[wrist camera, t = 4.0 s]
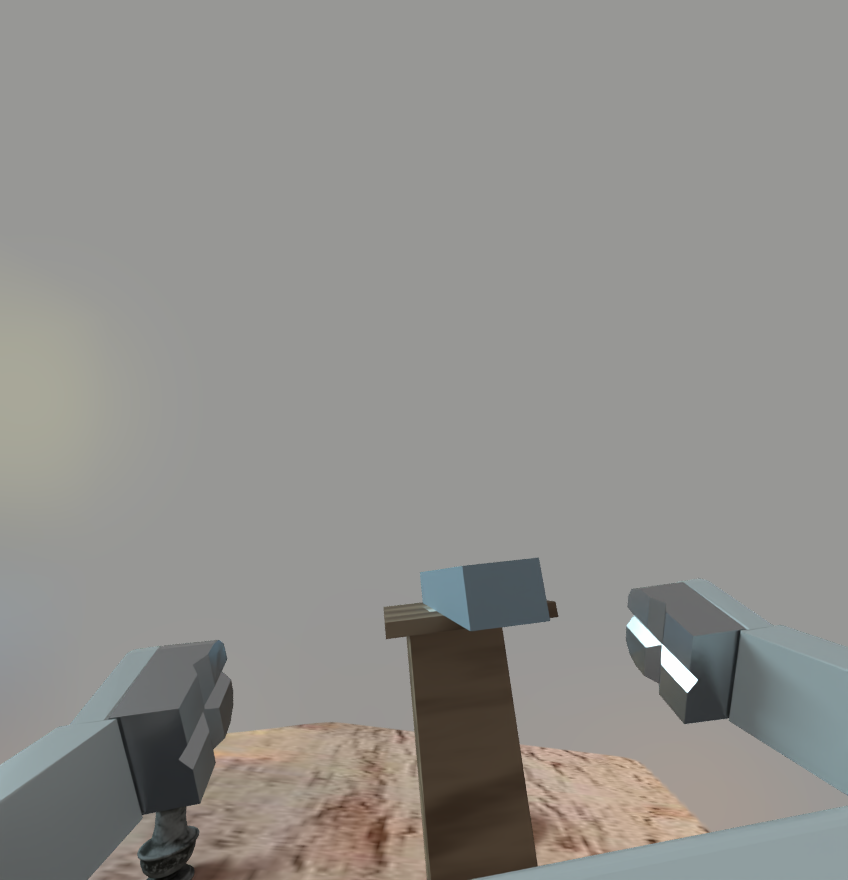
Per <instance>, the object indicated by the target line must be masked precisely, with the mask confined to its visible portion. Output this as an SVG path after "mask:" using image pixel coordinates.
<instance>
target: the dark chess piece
mask: <svg viewBox="0 0 848 880" xmlns="http://www.w3.org/2000/svg"><path fill="white" fill-rule="evenodd" d="M198 836H199V830H198V828H196V827H193V826H188V825H187V821H186V806H185V807H180V808H175V809H170V810H165V811H160V812H156V820H155V829H154V832H153V836H152V838H151V839H150V840H148V841H147V842H146V843H144V844H143V845H142V846H141V848H140V849H139V851H138V853H137V855H138V858H139V859H140V865H141V868H142V871H143V873H144V874H145V875H146V876H148V877H149V878H148V879H147V880H191V879H192V877H193V875H194V868H193V867H192V866H191V865H188V864H186V862H187V861H188V860H189V858H190V857H191V855H192V853H193V850H194V847H195V843H196V839H197V837H198Z"/></svg>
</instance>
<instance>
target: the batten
mask: <svg viewBox="0 0 848 880" xmlns="http://www.w3.org/2000/svg"><path fill="white" fill-rule="evenodd" d="M420 577H421V588H422V598H423V603H424V604H425V605H427V606H429V607H430V608H432V609H434V610H435V611H437V612H439V613H441V614H442V615H444V616H446V617H447V618H449V619H451V620H452V621H454V622H456V623H457V624H459V625H461V626H462V627H464V628H466V629H467V630H469V631H477V630H484V629H492V628H500V627H507V626H515V625H523V624H531V623H538V622H546V621H550V617H549V611H548V606H547V600H546V596H545V590H544V584H543V579H542V573H541V568H540V562H539V558H532V559H522V560H514V561H504V562H496V563H487V564H477V565H468V566H460V567H454V568H446V569H440V570H433V571H426V572H420Z"/></svg>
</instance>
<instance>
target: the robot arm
mask: <svg viewBox="0 0 848 880" xmlns="http://www.w3.org/2000/svg"><path fill="white" fill-rule="evenodd" d="M628 608H629V610H630V611H631V612H632V613H633V615H634V616H633V617H632V619H631V620H630V622H629V623H628V625H627V626H626V642H627V646H628V649H629V653H630V655H631V658H632V659H633V661H634V663H635V665H636V666H637V668H638V669H639V670H640V671H641V672H642V674H643V675H644V676H646V677H647V678H649V679H651V680H653V681H655V682H657V683H659V695H660V696H661V697H662V698H663V699H664V700H665V702H666V703H667V704H668V705H669V706H670V707H671V709H672V710H673V711H674V712H675V714H676V715H677V716H678V717H679V718H680V720H681V721H682V722H683V723H684V724H688V723H696V722H704V721H711V720H719V719H727V718H729V721H730V722H732V723H733V724H735V725H736V726H738V727H739V728H741V729H743V730H744V731H746V732H747V733H749V734H751V735H752V736H754V737H755V738H757V739H758V740H760V741H762V742H763V743H765V744H766V745H768V746H770V747H771V748H773V749H774V750H776V751H778V752H779V753H781V754H782V755H784V756H785V757H787V758H789V759H790V760H792V761H793V762H795V763H797V764H798V765H800V766H801V767H803V768H805V769H806V770H808V771H809V772H811V773H813V774H814V775H816V776H817V777H819V778H820V779H822V780H824V781H825V782H827V783H828V784H830V785H832V786H833V787H835V788H836V789H838V790H840V791H841V792H843V793H844V794H846V795H847V796H848V647H846V646H843V645H840V644H837V643H834V642H831V641H828V640H825V639H822V638H819V637H816V636H813V635H810V634H807V633H804V632H801V631H798V630H795V629H792V628H789V627H786V626H783V625H778V626H774V625H772V624H771V623H769V622H768V621H766V620H765V619H763V618H762V617H760V616H759V615H757V614H756V613H755V612H753V611H752V610H750V609H749V608H747V607H746V606H744V605H743V604H742V603H740V602H739V601H737V600H736V599H734V598H733V597H731V596H730V595H729V594H727V593H726V592H724V591H723V590H721V589H720V588H718V587H717V586H715V585H714V584H713V583H711V582H710V581H707V580H704V579H693V580H687V581H681V582H677V583H672V584H664V585H657V586H650V587H643V588H636V589H632V590H631V592H630V594H629V596H628ZM226 661H227V656H226V651H225V647H224V644H223V643H222V642H221V641H220V640H214V641H205V642H194V643H185V644H175V645H165V646H157V647H149V648H141V649H135V650H133V651H131V652H129V653H127V654H126V655H125V657H124V658H123V659H122V660H121V662H120V663H119V664H118V665H117V667H116V668H115V669H114V670H113V671H112V673H111V674H110V675H109V676H108V678H107V679H106V680H105V681H104V683H103V684H102V685H101V686H100V688H99V689H98V690H97V691H96V693H95V694H94V695H93V696H92V698H91V699H90V700H89V701H88V703H87V704H86V705H85V706H84V708H83V709H82V710H81V711H80V713H79V714H78V715H77V717H75V719H74V720H73V721H72V722H71V724H70V725H68V726H61V727H58V728H56V729H55V730H53V731H52V732H50V733H48V734H47V735H45V736H44V737H42V738H41V739H39V740H38V741H37V742H35V743H33V744H32V745H30V746H28V747H27V748H25V749H24V750H22V751H21V752H19V753H18V754H16V755H15V756H13V757H12V758H10V759H9V760H7V761H6V762H4V763H2V764H1V765H0V880H88V879H89V877H90V876H91V875H92V874H93V873H94V872H95V871H96V870H97V869H98V867H99V866H100V865H101V864H102V863H103V862H104V861H105V860H106V859H107V857H108V856H109V855H110V854H111V853H112V852H113V851H114V850H115V849H116V847H117V846H118V845H119V844H120V843H121V842H122V841H123V840H124V839H125V837H126V836H127V835H128V834H129V833H130V832H131V831H132V830H133V829H134V827H135V826H136V825H137V824H138V823H139V822H140V821H141V820H142V818H143V817H142V815H144V814H149V813H155V812H160V811H165V810H170V809H175V808H180V807H185V806H190V805H195V804H200V803H201V800H202V797H203V795H204V792H205V789H206V787H207V784H208V782H209V779H210V776H211V774H212V771H213V768H214V766H215V763H216V762H215V757H214V752H213V749H214V748H215V747H216V746H217V745H218V744H219V743H220V742H221V741H222V740H223V739H224V738H225V736H226V734H227V731H228V728H229V725H230V721H231V715H232V709H233V688H232V682H231V679H230V678H229V677H228V676H227V675H225V674H224V673H223V672H222V669H223V667H224V665H225V663H226ZM471 880H848V806H844V807H839V808H833V809H828V810H823V811H818V812H814V813H808V814H803V815H798V816H793V817H788V818H782V819H777V820H772V821H767V822H762V823H757V824H752V825H747V826H742V827H737V828H731V829H726V830H721V831H716V832H711V833H706V834H701V835H695V836H690V837H685V838H680V839H675V840H670V841H665V842H660V843H655V844H649V845H644V846H639V847H634V848H629V849H624V850H619V851H614V852H609V853H604V854H599V855H594V856H588V857H583V858H578V859H573V860H568V861H563V862H558V863H553V864H548V865H543V866H538V867H532V868H527V869H522V870H517V871H512V872H507V873H502V874H497V875H492V876H487V877H482V878H477V879H471Z"/></svg>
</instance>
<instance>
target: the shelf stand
mask: <svg viewBox="0 0 848 880" xmlns="http://www.w3.org/2000/svg"><path fill="white" fill-rule="evenodd" d="M547 606H548V611H549V617H550V618H553V617H558V613H557V608H556V603H555V602H554V601H547ZM384 619H385V631H386V639H391V638H398V637H406V636H407V648H408V660H409V672H410V684H411V696H412V707H413V719H414V731H415V743H416V755H417V767H418V778H419V790H420V802H421V814H422V826H423V838H424V850H425V861H426V873H427V880H471V879H477V878H482V877H487V876H492V875H497V874H502V873H507V872H512V871H517V870H522V869H527V868H532V867H538V865H537V858H536V852H535V845H534V838H533V831H532V825H531V818H530V811H529V805H528V798H527V791H526V784H525V778H524V771H523V764H522V758H521V751H520V744H519V738H518V731H517V724H516V717H515V711H514V704H513V697H512V691H511V684H510V677H509V670H508V664H507V657H506V650H505V644H504V637H503V631H502V627H500V628H492V629H484V630H477V631H469V630H467V629H466V628H464V627H462V626H461V625H459V624H457V623H456V622H454V621H452V620H451V619H449V618H447V617H446V616H444V615H442V614H441V613H439V612H437V611H435V610H434V609H432V608H430V607H429V606H427V605H425V604H424V603H415V604H406V605H398V606H389V607H384Z"/></svg>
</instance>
